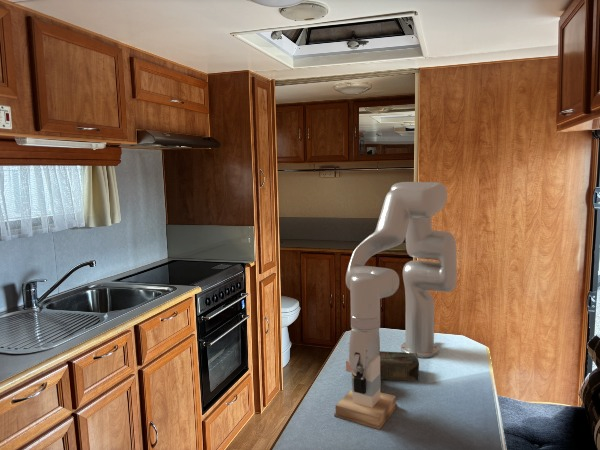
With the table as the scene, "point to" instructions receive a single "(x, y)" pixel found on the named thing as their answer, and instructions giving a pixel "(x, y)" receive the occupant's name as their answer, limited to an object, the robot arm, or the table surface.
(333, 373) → the table surface
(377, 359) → the slim carton
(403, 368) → the beverage carton
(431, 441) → the table surface
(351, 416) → the plinth
